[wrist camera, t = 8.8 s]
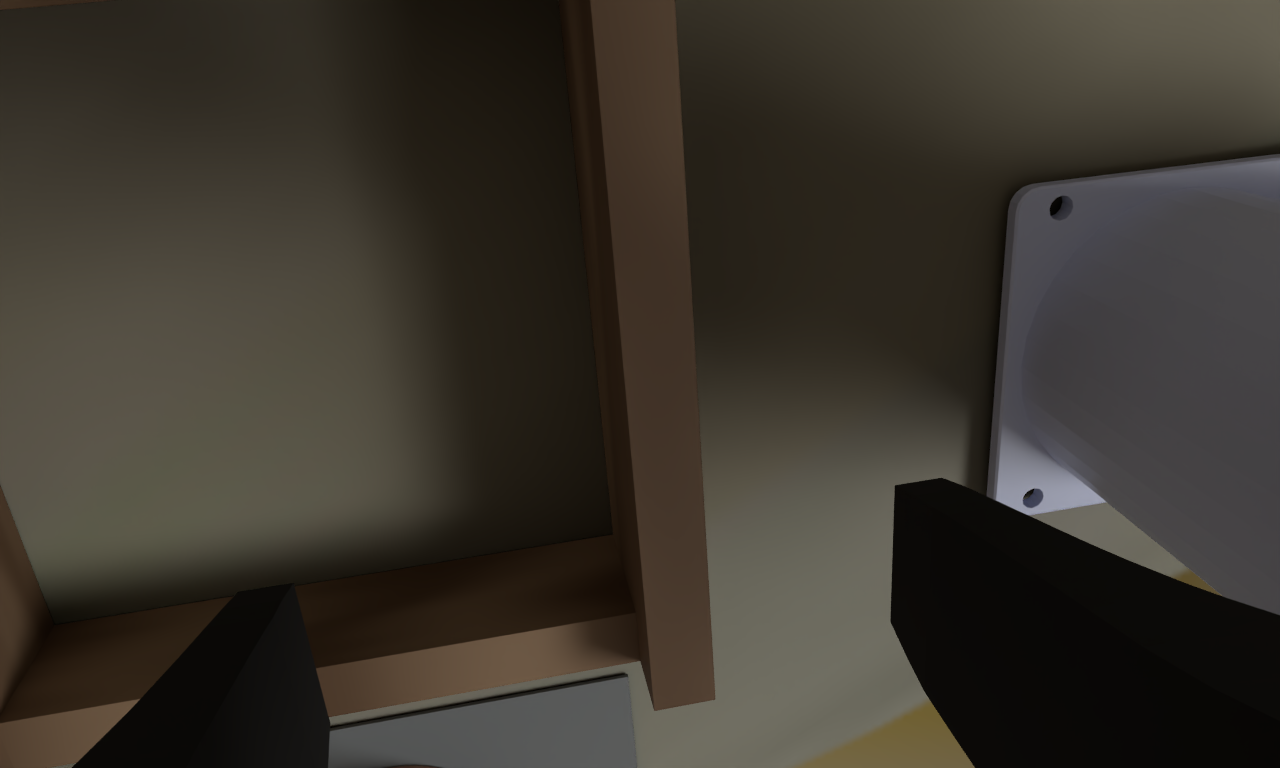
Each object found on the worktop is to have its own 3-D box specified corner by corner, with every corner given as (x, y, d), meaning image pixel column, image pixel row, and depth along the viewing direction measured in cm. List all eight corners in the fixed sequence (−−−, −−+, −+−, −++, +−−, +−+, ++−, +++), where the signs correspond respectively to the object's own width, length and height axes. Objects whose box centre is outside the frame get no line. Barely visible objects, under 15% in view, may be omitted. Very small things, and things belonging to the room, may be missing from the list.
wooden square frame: (614, -118, 17) (666, -145, 13) (667, 570, 23) (715, 699, 19) (-294, -52, 15) (-563, -58, 11) (13, 680, 21) (-93, 851, 17)
